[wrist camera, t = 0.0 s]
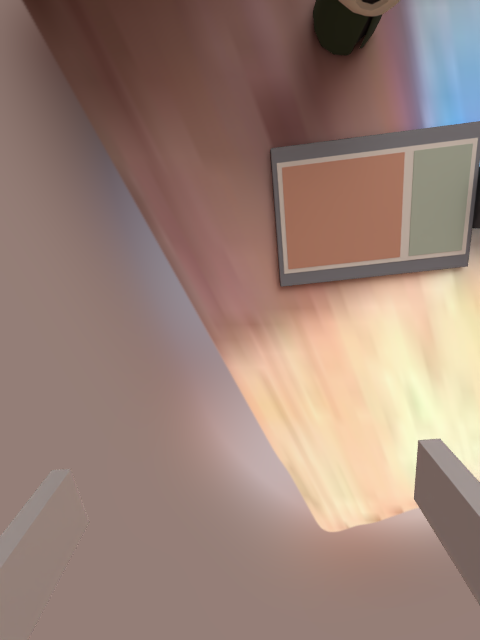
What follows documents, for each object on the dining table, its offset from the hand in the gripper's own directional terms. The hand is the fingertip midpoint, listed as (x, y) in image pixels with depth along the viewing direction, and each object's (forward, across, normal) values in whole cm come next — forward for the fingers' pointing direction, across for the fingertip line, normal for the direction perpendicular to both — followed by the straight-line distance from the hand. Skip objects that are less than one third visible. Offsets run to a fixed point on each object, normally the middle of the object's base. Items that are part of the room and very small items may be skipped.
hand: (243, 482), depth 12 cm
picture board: (+28, +16, +9) cm, 33 cm away
